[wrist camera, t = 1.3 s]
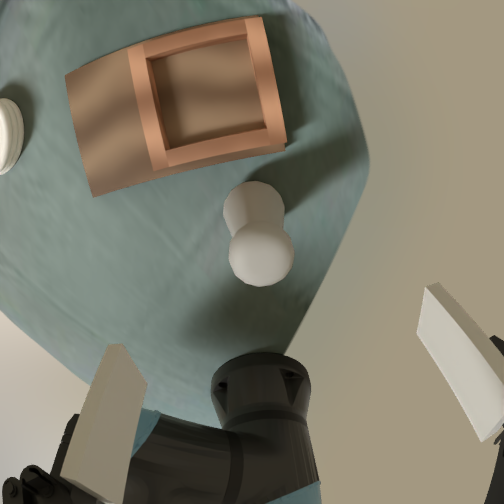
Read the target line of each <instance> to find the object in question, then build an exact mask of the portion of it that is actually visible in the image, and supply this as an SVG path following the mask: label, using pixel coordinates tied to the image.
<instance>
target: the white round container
mask: <svg viewBox="0 0 504 504" xmlns="http://www.w3.org/2000/svg"><path fill="white" fill-rule="evenodd" d="M23 140H24V124H23V118H22V114H21V112H20V110H19V108H18V106H17V105H16V104H15V103H14V102H13V101H12V100H9V99H6V98H1V99H0V175H1V174H4V173H6V172H7V171H9V170H10V169H11V168H12V167H13V166H14V164H15V163H16V161H17V159H18V157H19V155H20V153H21V150H22V145H23Z"/></svg>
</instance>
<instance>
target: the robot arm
mask: <svg viewBox="0 0 504 504" xmlns="http://www.w3.org/2000/svg"><path fill="white" fill-rule="evenodd" d="M417 335H418V337H419V338H420V340H421V341H422V343H423V344H424V346H425V347H426V349H427V350H428V352H429V353H430V355H431V356H432V358H433V359H434V361H435V363H436V364H437V366H438V367H439V369H440V370H441V372H442V374H443V375H444V377H445V379H446V380H447V382H448V384H449V385H450V387H451V388H452V390H453V392H454V394H455V395H456V397H457V399H458V401H459V402H460V404H461V406H462V408H463V409H464V411H465V413H466V415H467V416H468V418H469V420H470V422H471V424H472V426H473V428H474V430H475V432H476V433H477V435H478V437H479V439H480V441H481V442H482V441H484V440H486V439H487V438H489V437H490V436H491V435H493V434H495V433H496V432H497V431H498V430H499V428H500V427H501V426H503V427H504V341H503V340H501V339H499V338H498V337H496V336H495V335H494V336H492V337H490V338H488V337H487V335H486V334H485V333H484V332H483V331H482V329H481V328H480V327H479V326H478V325H477V324H476V322H475V321H474V320H473V319H472V318H471V317H470V316H469V314H468V313H467V312H466V311H465V310H464V309H463V308H462V307H461V306H460V305H459V303H458V302H457V301H456V300H455V299H454V298H453V297H452V296H451V295H450V294H449V293H448V292H447V291H446V290H445V289H444V287H443V286H442V285H441V284H440V283H436V284H432V285H429V286H425V291H424V297H423V303H422V309H421V314H420V319H419V324H418V329H417ZM146 387H147V382H146V381H145V379H144V378H143V376H142V375H141V373H140V371H139V370H138V368H137V367H136V365H135V364H134V362H133V360H132V359H131V357H130V355H129V354H128V352H127V350H126V349H125V347H124V345H123V344H111V345H108V347H107V349H106V351H105V354H104V356H103V358H102V360H101V363H100V365H99V367H98V370H97V372H96V375H95V377H94V379H93V382H92V384H91V387H90V390H89V392H88V394H87V397H86V400H85V402H84V405H83V407H82V410H81V413H80V414H74V415H73V417H72V418H71V419H70V420H69V422H68V423H67V426H66V429H65V432H64V435H63V437H62V440H61V444H60V445H59V449H58V451H57V454H56V457H55V460H54V464H53V467H52V470H51V472H50V475H49V474H48V473H46V472H45V471H44V470H42V469H41V468H40V467H38V466H36V465H29V466H27V467H26V468H24V469H23V471H22V473H21V475H20V480H18V479H17V478H15V477H10V478H8V479H7V480H6V481H5V482H4V484H3V489H2V496H3V504H321V493H320V484H321V482H320V481H319V477H318V472H317V467H316V463H315V458H314V454H313V449H312V445H311V441H310V436H309V431H308V427H307V421H306V417H307V412H308V406H309V400H310V394H311V383H310V379H309V375H308V372H307V370H306V369H305V367H304V366H303V365H302V364H301V363H300V362H298V361H297V360H295V359H293V358H290V357H288V356H284V355H280V354H273V353H257V354H250V355H245V356H241V357H238V358H235V359H233V360H231V361H229V362H227V363H225V364H224V365H223V366H221V367H220V368H219V369H218V370H217V371H216V372H215V374H214V376H213V378H212V381H211V399H212V402H213V405H214V408H215V410H216V413H217V416H218V418H219V421H220V424H221V426H222V429H218V428H214V427H210V426H205V425H201V424H197V423H193V422H190V421H186V420H182V419H179V418H175V417H172V416H168V415H165V414H162V413H161V412H159V411H157V410H155V411H151V410H148V409H144V408H142V404H143V400H144V395H145V391H146ZM500 439H501V442H500V443H499V445H500V447H499V452H498V457H497V461H496V466H495V470H494V473H493V477H492V480H491V484H490V487H489V491H488V494H487V497H486V500H485V503H484V504H504V430H503V431H502V433H501V434H500V435H499V436H498V437H497V438H496V440H495V442H494V444H497V443H498V442H499V440H500Z"/></svg>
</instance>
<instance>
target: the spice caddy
mask: <svg viewBox="0 0 504 504" xmlns="http://www.w3.org/2000/svg"><path fill="white" fill-rule="evenodd" d="M65 81H66V87H67V93H68V99H69V104H70V110H71V115H72V119H73V124H74V129H75V133H76V137H77V142H78V146H79V150H80V154H81V157H82V161H83V165H84V169H85V172H86V176H87V179H88V183H89V186H90V189H91V192H92V196H93V198H94V197H97V196H100V195H103V194H106V193H109V192H112V191H115V190H119V189H122V188H125V187H129V186H132V185H136V184H139V183H143V182H146V181H150V180H153V179H157V178H161V177H165V176H168V175H172V174H176V173H180V172H184V171H188V170H192V169H197V168H201V167H205V166H210V165H214V164H219V163H224V162H228V161H233V160H238V159H243V158H248V157H254V156H259V155H265V154H270V153H276V152H282V151H285V145H284V143H286V142H287V137H286V132H285V126H284V120H283V115H282V110H281V104H280V99H279V94H278V89H277V84H276V79H275V74H274V69H273V65H272V60H271V55H270V51H269V46H268V42H267V37H266V33H265V29H264V24H263V20H262V17H258V15H254V16H246V17H240V18H233V19H228V20H222V21H217V22H212V23H207V24H203V25H198V26H194V27H190V28H186V29H182V30H178V31H175V32H171V33H168V34H164V35H161V36H158V37H155V38H152V39H149V40H146V41H143V42H140V43H137V44H134V45H132V46H129V47H126V48H124V49H121V50H118V51H116V52H114V53H111V54H109V55H106V56H104V57H102V58H99V59H97V60H95V61H93V62H91V63H88V64H86V65H84V66H82V67H80V68H78V69H76V70H74V71H72V72H70V73H68V74H66V75H65Z"/></svg>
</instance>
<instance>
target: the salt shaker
mask: <svg viewBox="0 0 504 504" xmlns="http://www.w3.org/2000/svg"><path fill="white" fill-rule="evenodd" d="M284 211H285V207H284V204H283V201H282V198H281V196H280V194H279V193H278V192H277V191H276V190H275V189H274V188H273V187H272V186H271V185H269V184H265V183H262V182H259V181H250V182H243V183H242V184H240V185H238V186H237V187H235V188H234V189H232V190H231V192H230V193H229V195H228V197H227V198H226V200H225V202H224V211H223V216H224V219H225V221H226V223H227V226H228V228H229V231H230V233H231V235H232V239H231V241H230V245H229V262H230V264H231V267H232V269H233V271H234V273H235V275H236V276H237V277H238V278H239V279H241V280H242V281H243V282H245V283H246V284H250V285H254V286H257V287H261V286H268V285H273V284H275V283H277V282H278V281H280V280H282V279H284V278H285V276H286V275H287V274H288V272H289V271H290V270H291V268H292V265H293V260H294V255H295V254H294V248H293V245H292V242H291V239H290V237H289V235H288V234H287V233H286V232H285V231H284V230H283V224H284Z"/></svg>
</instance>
